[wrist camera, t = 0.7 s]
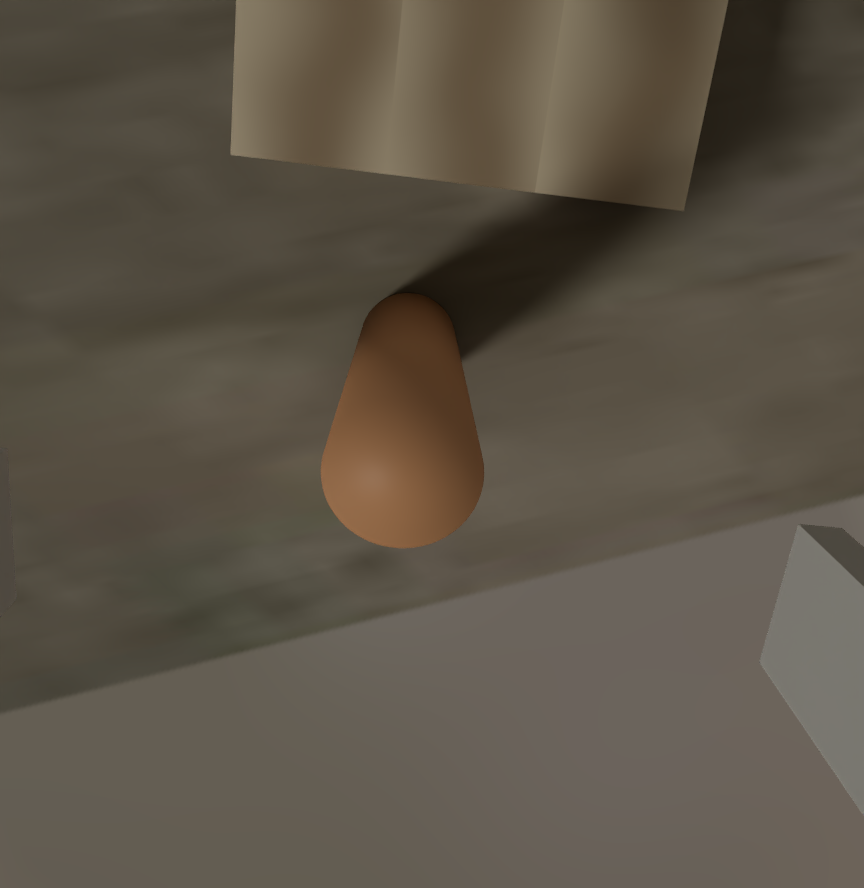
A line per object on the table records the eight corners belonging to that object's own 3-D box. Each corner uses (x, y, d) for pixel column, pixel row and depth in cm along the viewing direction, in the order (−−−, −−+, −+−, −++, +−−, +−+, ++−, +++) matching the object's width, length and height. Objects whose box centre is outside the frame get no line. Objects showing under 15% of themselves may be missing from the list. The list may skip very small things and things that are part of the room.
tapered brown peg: (356, 380, 32) (315, 540, 19) (365, 287, 31) (327, 387, 18) (449, 390, 32) (472, 555, 19) (461, 298, 31) (494, 405, 18)
